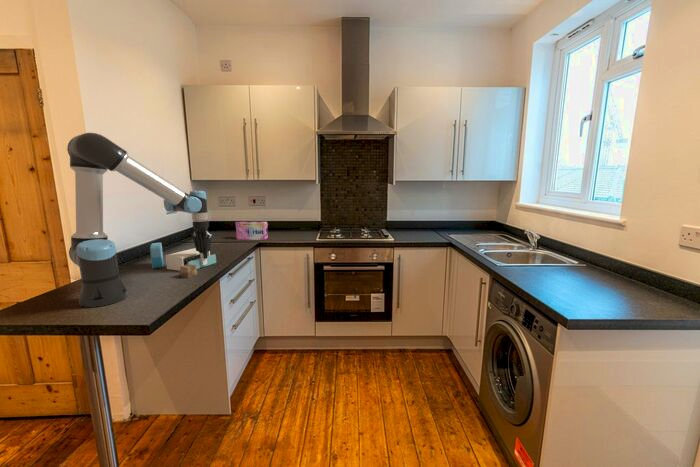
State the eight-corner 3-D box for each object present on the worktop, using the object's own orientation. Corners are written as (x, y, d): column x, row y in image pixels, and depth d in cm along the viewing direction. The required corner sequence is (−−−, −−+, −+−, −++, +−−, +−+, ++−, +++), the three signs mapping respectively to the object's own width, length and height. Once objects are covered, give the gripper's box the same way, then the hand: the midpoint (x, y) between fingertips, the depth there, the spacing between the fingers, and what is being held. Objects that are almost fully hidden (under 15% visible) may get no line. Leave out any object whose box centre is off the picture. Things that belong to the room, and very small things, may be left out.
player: (210, 262, 176) (209, 250, 175) (183, 271, 160) (181, 257, 159) (195, 260, 181) (194, 248, 180) (166, 268, 165) (165, 255, 163)
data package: (159, 246, 164) (161, 242, 174) (149, 247, 162) (151, 242, 172) (162, 268, 166) (163, 262, 176) (152, 269, 164) (154, 263, 174)
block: (188, 277, 150) (187, 267, 149) (181, 276, 152) (180, 266, 151) (197, 274, 154) (196, 265, 153) (189, 273, 156) (188, 264, 155)
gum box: (269, 237, 248) (268, 221, 245) (266, 239, 240) (265, 222, 237) (240, 237, 249) (239, 220, 246) (236, 239, 241) (235, 222, 238)
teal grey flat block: (216, 262, 174) (215, 254, 174) (189, 271, 158) (188, 262, 158) (199, 260, 179) (199, 252, 178) (172, 268, 163) (171, 259, 162)
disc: (182, 263, 167) (182, 260, 167) (194, 260, 174) (194, 257, 174) (193, 265, 164) (192, 262, 164) (205, 261, 171) (205, 258, 171)
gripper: (215, 220, 163) (218, 263, 167) (197, 219, 168) (201, 261, 172) (203, 222, 156) (207, 267, 160) (185, 220, 161) (189, 264, 165)
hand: (204, 264), depth 166 cm, fingers closed
